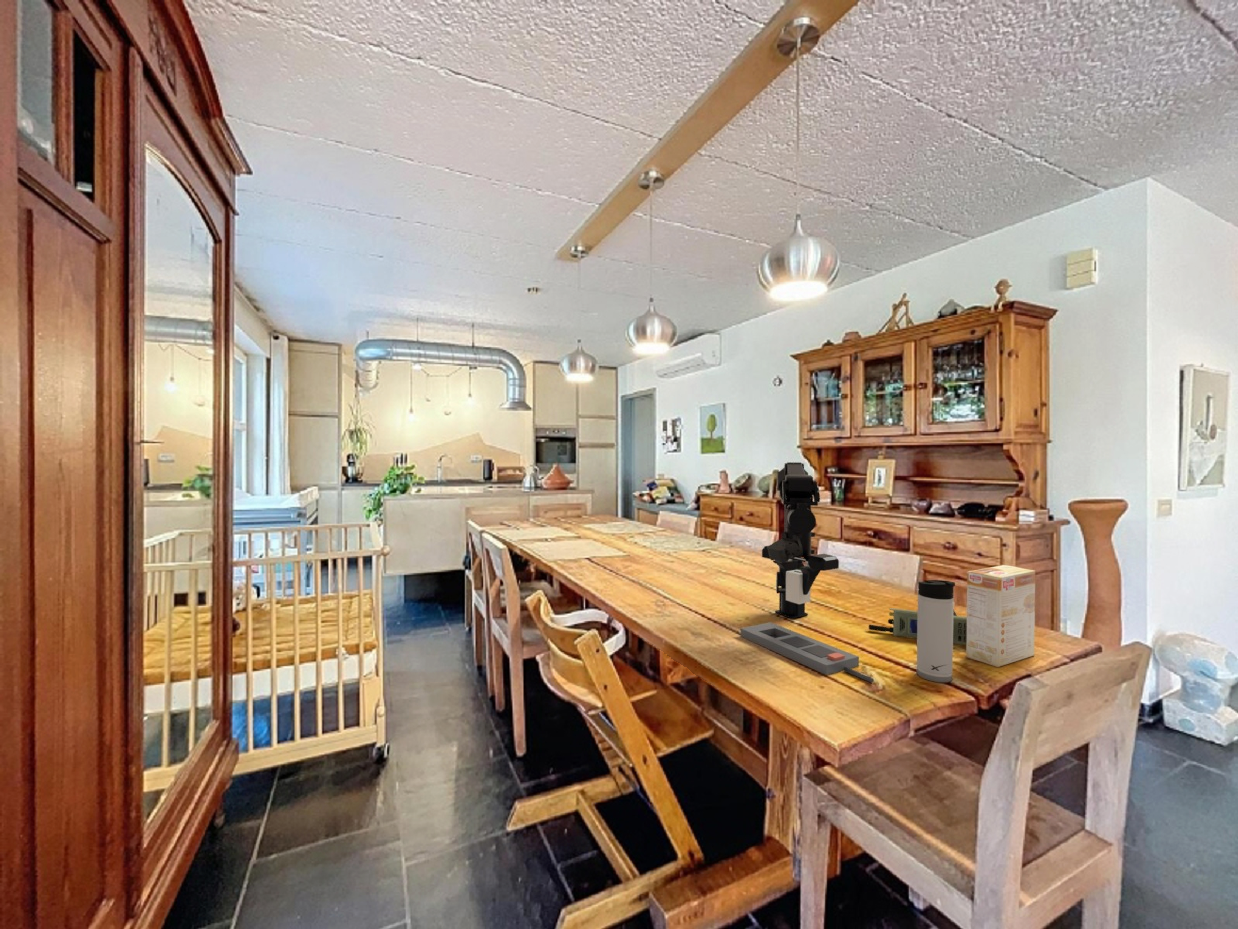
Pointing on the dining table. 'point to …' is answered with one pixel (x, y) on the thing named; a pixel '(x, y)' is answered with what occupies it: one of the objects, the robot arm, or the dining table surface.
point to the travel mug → (935, 630)
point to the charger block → (796, 588)
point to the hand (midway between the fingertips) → (798, 592)
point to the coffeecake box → (1000, 614)
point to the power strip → (803, 649)
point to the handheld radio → (907, 625)
